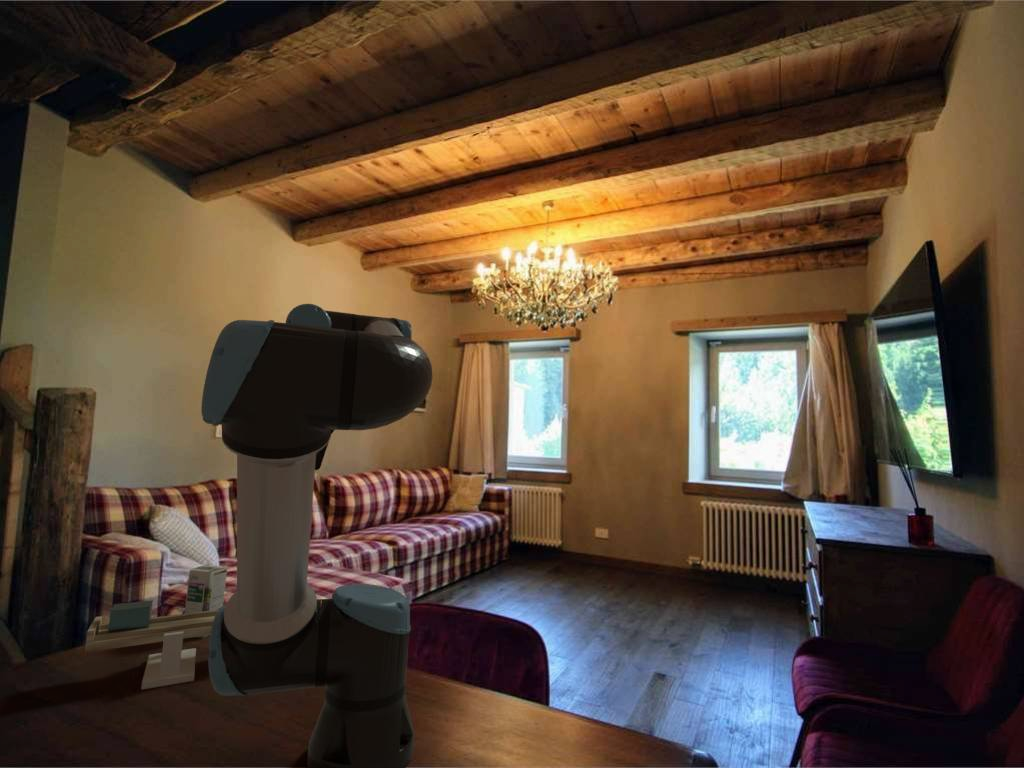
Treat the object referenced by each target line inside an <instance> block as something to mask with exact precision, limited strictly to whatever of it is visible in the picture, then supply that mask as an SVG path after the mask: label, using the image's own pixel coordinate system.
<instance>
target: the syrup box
mask: <svg viewBox="0 0 1024 768" xmlns="http://www.w3.org/2000/svg"><path fill="white" fill-rule="evenodd" d="M188 573H189V574H188V578H187V579H188V581H187V587H186V588H187V591H186V599H185V607H184V608H185V609H184V614H186V613H195V612H203V611H212V610H219V609H220V608H221V607H222V606H224V600H225V591H226V583H227V574H228V566H216V565H210V564H209V565H208V564H207V565H199V566H197V567H193V568H192V569H190V570H189V572H188ZM207 637H209V635H205V636H198V637H197V638H200V639H204V638H207Z"/></svg>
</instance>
